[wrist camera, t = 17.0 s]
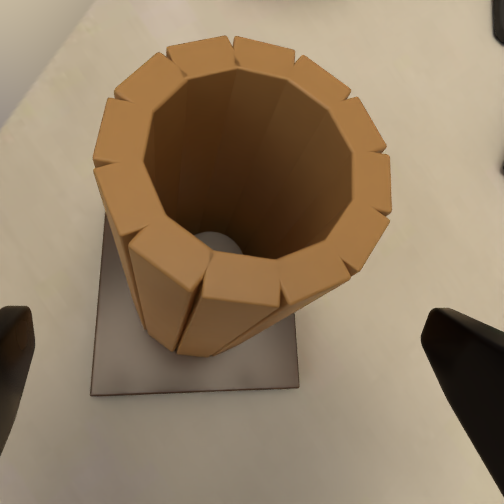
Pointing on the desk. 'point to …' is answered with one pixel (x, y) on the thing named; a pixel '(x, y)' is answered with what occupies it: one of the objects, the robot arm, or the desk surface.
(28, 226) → the desk surface
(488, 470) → the robot arm
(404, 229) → the desk surface
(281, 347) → the pencil cup stand
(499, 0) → the phone
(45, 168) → the desk surface
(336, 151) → the wooden stave pencil cup
